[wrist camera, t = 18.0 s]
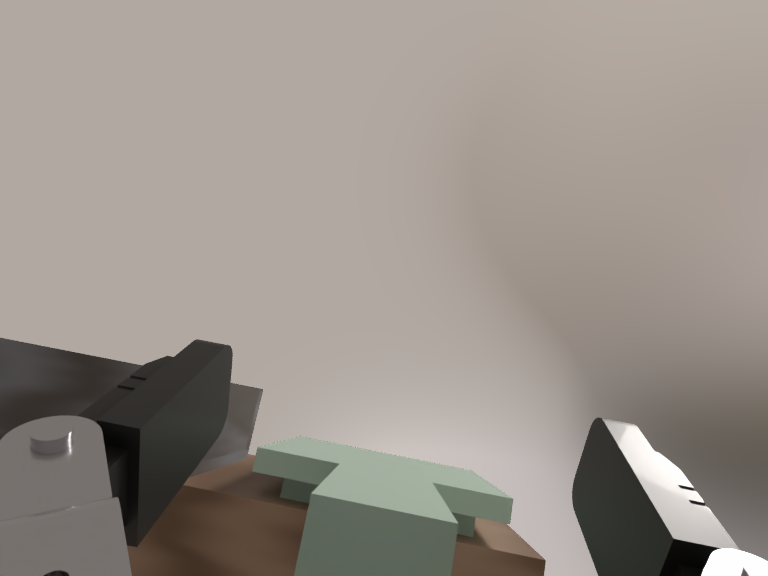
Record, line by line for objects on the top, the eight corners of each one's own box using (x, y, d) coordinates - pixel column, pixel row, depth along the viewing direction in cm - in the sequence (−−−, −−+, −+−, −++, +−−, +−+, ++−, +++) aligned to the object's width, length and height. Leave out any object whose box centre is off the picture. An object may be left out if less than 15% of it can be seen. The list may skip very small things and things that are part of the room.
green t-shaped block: (81, 591, 10) (121, 454, 11) (293, 468, 32) (302, 426, 33) (653, 718, 9) (661, 565, 10) (466, 504, 32) (473, 460, 32)
